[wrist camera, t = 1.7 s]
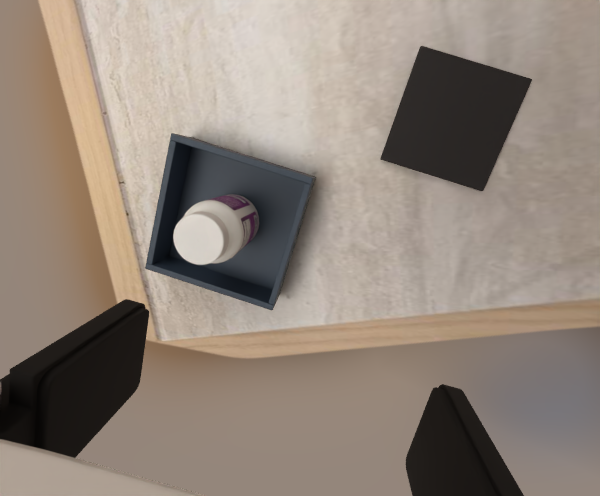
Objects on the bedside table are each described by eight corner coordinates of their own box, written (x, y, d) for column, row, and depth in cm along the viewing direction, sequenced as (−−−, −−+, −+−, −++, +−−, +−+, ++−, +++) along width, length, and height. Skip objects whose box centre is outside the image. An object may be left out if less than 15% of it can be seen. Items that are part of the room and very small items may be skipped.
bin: (190, 137, 33) (171, 133, 29) (315, 177, 33) (313, 177, 29) (165, 258, 37) (144, 268, 33) (279, 295, 36) (272, 310, 32)
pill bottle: (199, 216, 35) (148, 234, 25) (236, 183, 33) (197, 188, 24) (234, 255, 35) (197, 287, 26) (271, 224, 34) (246, 245, 25)
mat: (420, 47, 29) (421, 45, 29) (530, 80, 29) (532, 79, 29) (380, 159, 32) (380, 159, 32) (481, 190, 32) (483, 191, 31)
